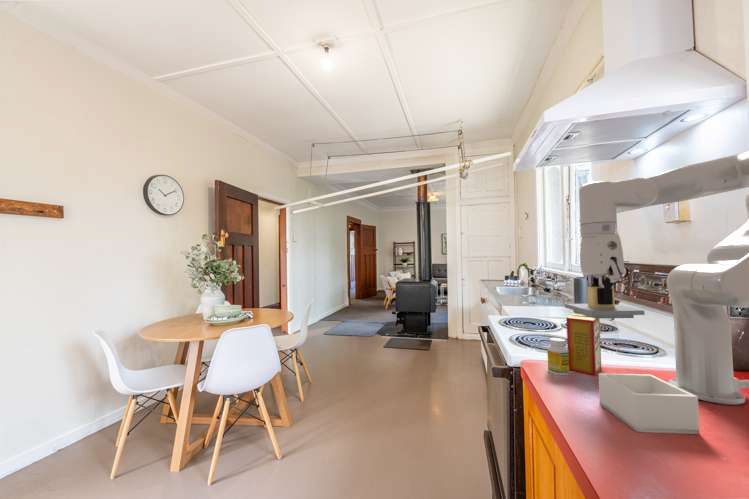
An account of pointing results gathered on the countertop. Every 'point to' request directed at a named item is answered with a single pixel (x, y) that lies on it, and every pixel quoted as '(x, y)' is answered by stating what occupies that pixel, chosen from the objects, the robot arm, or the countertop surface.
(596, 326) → the baking soda box
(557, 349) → the supplement bottle
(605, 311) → the lid
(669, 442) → the countertop surface
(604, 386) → the parts tub
